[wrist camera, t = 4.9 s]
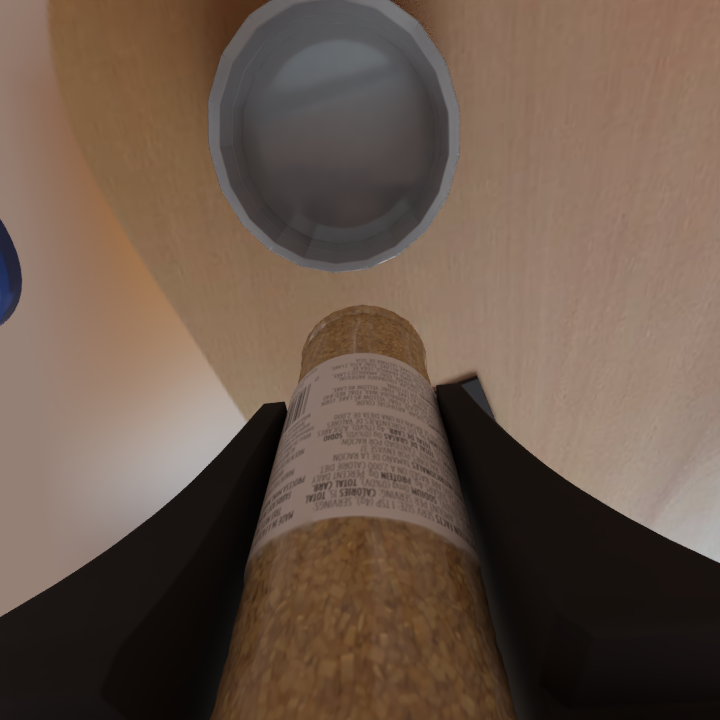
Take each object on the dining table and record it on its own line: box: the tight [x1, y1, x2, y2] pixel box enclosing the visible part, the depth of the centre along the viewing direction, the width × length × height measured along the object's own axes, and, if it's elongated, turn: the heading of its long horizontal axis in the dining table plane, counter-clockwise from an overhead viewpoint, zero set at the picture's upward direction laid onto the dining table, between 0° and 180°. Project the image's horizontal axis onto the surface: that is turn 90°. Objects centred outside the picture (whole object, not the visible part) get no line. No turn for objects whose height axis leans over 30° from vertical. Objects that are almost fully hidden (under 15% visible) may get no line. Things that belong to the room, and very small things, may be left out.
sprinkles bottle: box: [210, 305, 518, 720], centre depth 8 cm, size 5×5×14 cm
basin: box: [208, 0, 460, 273], centre depth 15 cm, size 9×9×4 cm
